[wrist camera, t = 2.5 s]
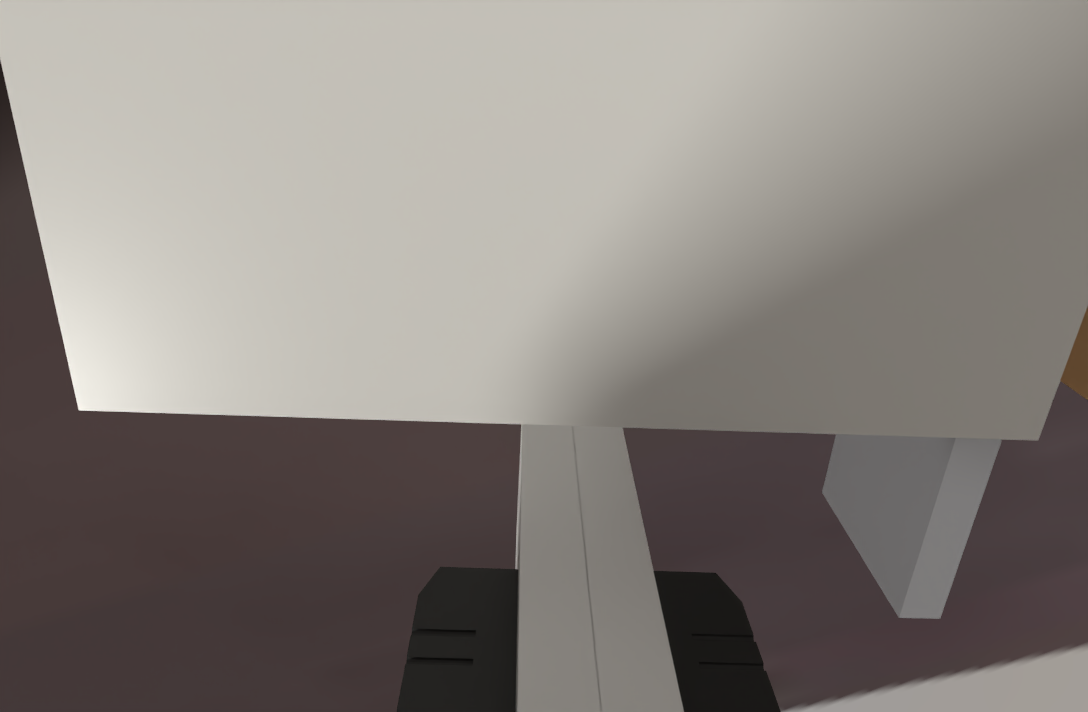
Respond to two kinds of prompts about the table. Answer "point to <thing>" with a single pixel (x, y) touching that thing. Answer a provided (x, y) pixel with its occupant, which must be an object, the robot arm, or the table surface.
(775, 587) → the table surface
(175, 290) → the housing
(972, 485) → the door
